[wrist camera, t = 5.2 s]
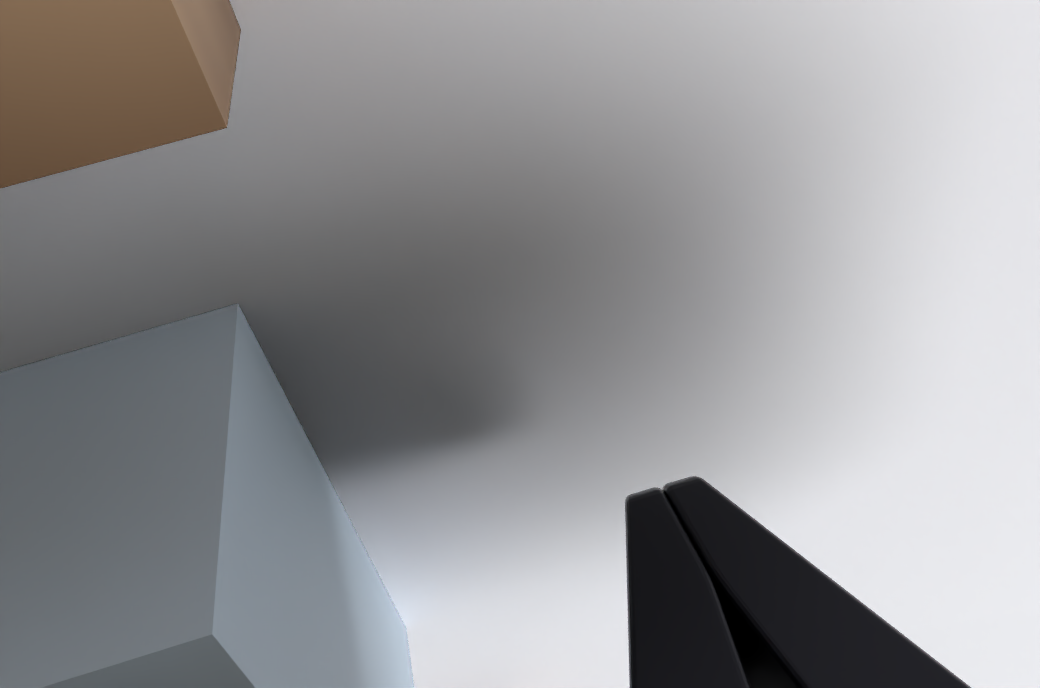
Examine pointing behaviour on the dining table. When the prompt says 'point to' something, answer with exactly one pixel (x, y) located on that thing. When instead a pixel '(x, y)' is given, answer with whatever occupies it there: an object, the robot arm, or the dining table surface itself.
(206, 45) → the brown wooden flat frame
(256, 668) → the carriage
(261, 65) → the dining table surface
